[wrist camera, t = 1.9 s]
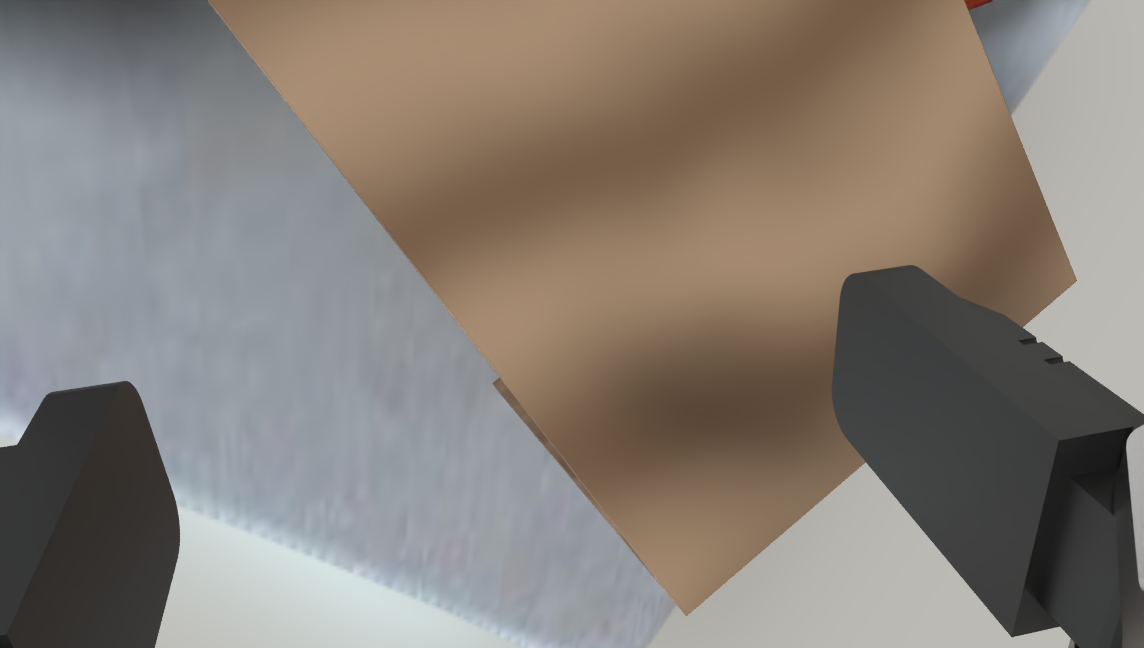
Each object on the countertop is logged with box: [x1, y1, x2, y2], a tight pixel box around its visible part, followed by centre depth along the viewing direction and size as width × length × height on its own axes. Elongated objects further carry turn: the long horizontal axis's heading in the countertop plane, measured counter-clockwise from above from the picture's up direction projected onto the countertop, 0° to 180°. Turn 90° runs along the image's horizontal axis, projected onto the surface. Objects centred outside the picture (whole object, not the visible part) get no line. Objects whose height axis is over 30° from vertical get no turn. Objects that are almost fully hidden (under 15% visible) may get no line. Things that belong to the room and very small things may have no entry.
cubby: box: [207, 0, 1077, 616], centre depth 27 cm, size 22×14×17 cm, turn 35°
